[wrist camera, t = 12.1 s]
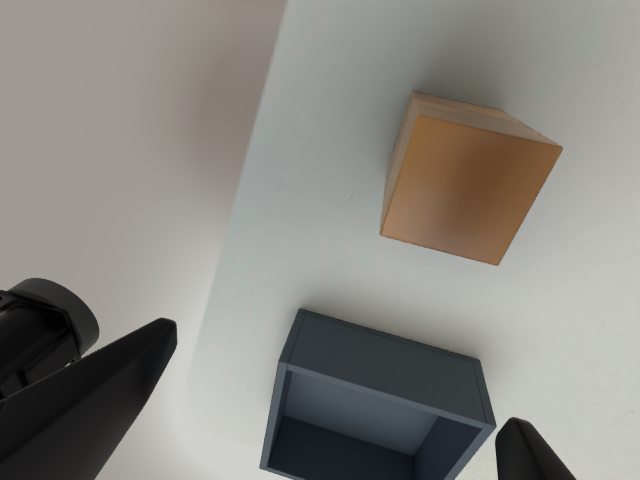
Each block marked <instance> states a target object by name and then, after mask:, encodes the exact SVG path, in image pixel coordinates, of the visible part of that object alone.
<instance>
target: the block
mask: <svg viewBox="0 0 640 480" xmlns="http://www.w3.org/2000/svg"><path fill="white" fill-rule="evenodd" d="M562 150H563V147H562V146H560V145H558V144H557V143H555V142H553V141H552V140H550V139H548V138H547V137H545V136H543V135H542V134H540V133H538V132H537V131H535V130H533V129H532V128H530V127H528V126H527V125H525V124H523V123H521V122H520V121H518V120H516V119H515V118H513V117H511V116H510V115H508V114H506V113H505V112H503V111H499V110H495V109H490V108H486V107H481V106H477V105H472V104H468V103H463V102H459V101H454V100H450V99H445V98H441V97H436V96H432V95H427V94H423V93H418V92H414V91H413V92H411V93H410V97H409V100H408V103H407V107H406V110H405V113H404V117H403V120H402V124H401V127H400V130H399V134H398V137H397V140H396V144H395V147H394V150H393V154H392V157H391V161H390V164H389V167H388V171H387V174H386V180H385V189H384V198H383V207H382V216H381V226H380V235H381V236H384V237H388V238H392V239H395V240H399V241H403V242H407V243H411V244H415V245H418V246H422V247H426V248H430V249H434V250H438V251H442V252H445V253H449V254H453V255H457V256H461V257H465V258H468V259H472V260H476V261H480V262H484V263H488V264H492V265H495V266H498V265H499V263H500V261H501V260H502V258H503V256H504V254H505V252H506V251H507V249H508V247H509V245H510V243H511V242H512V240H513V238H514V236H515V234H516V233H517V231H518V229H519V227H520V226H521V224H522V222H523V220H524V218H525V217H526V215H527V213H528V211H529V209H530V208H531V206H532V204H533V202H534V200H535V199H536V197H537V195H538V193H539V191H540V190H541V188H542V186H543V184H544V182H545V181H546V179H547V177H548V175H549V173H550V172H551V170H552V168H553V166H554V164H555V163H556V161H557V159H558V157H559V155H560V154H561V152H562Z"/></svg>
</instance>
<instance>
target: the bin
mask: <svg viewBox="0 0 640 480" xmlns="http://www.w3.org/2000/svg"><path fill="white" fill-rule="evenodd" d="M496 427H497V426H496V422H495V418H494V414H493V410H492V406H491V402H490V398H489V394H488V391H487V387H486V383H485V379H484V375H483V371H482V367H481V363H480V360H476V359H473V358H469V357H466V356H462V355H459V354H455V353H452V352H449V351H445V350H442V349H438V348H435V347H431V346H428V345H424V344H421V343H417V342H414V341H410V340H407V339H403V338H400V337H396V336H393V335H389V334H386V333H382V332H379V331H375V330H372V329H368V328H365V327H361V326H358V325H354V324H351V323H347V322H344V321H340V320H337V319H333V318H330V317H326V316H323V315H319V314H316V313H312V312H309V311H305V310H302V309H299V310H298V312H297V315H296V317H295V320H294V323H293V325H292V328H291V330H290V333H289V335H288V338H287V340H286V343H285V346H284V348H283V351H282V353H281V356H280V358H279V361H278V367H277V372H276V378H275V384H274V389H273V395H272V400H271V406H270V411H269V417H268V422H267V428H266V434H265V439H264V445H263V451H262V456H261V461H260V469H263V470H267V471H269V472H272V473H275V474H278V475H281V476H284V477H287V478H290V479H293V480H454V479H455V478H456V477H457V476H458V474H459V473H460V472H461V471H462V469H463V468H464V467H465V466H466V464H467V463H468V462H469V461H470V459H471V458H472V457H473V456H474V454H475V453H476V452H477V451H478V449H479V448H480V447H481V446H482V444H483V443H484V442H485V441H486V439H487V438H488V437H489V436H490V434H491V433H492V432H493V431H494V429H495V428H496Z"/></svg>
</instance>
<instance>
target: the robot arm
mask: <svg viewBox="0 0 640 480" xmlns="http://www.w3.org/2000/svg"><path fill="white" fill-rule="evenodd" d="M176 346H177V325H176V322H175V321H173V320H170V319H166V318H159V319H156V320H155V321H153V322H151V323H149V324H147V325H145V326H143V327H141V328H139V329H137V330H135V331H133V332H131V333H129V334H128V335H126V336H124V337H122V338H120V339H118V340H116V341H114V342H112V343H110V344H108V345H106V346H105V347H103V348H101V349H99V350H97V351H95V352H93V353H91V354H89V355H87V356H85V357H83V358H81V355H80V351H79V348H78V344H77V340H76V337H75V333H74V329H73V325H72V322H71V318H70V315H69V313H68V311H66V310H65V309H63V308H59V307H56V306H53V305H50V304H46V303H43V302H40V301H36V300H33V299H30V298H27V297H23V296H20V295H17V294H13V293H10V292H7V291H4V290H0V480H94V479H95V478H96V476H97V475H98V474H99V472H100V471H101V469H102V468H103V466H104V465H105V463H106V462H107V460H108V459H109V457H110V456H111V454H112V453H113V451H114V450H115V449H116V447H117V446H118V444H119V443H120V441H121V440H122V438H123V437H124V435H125V434H126V432H127V431H128V429H129V428H130V426H131V425H132V423H133V422H134V420H135V419H136V417H137V416H138V415H139V413H140V412H141V410H142V409H143V407H144V406H145V404H146V402H147V401H148V399H149V397H150V395H151V394H152V392H153V390H154V388H155V386H156V384H157V382H158V381H159V379H160V377H161V375H162V373H163V372H164V370H165V368H166V366H167V364H168V362H169V360H170V359H171V357H172V355H173V353H174V351H175V349H176ZM68 363H70V365H68V366H66V365H67V364H68ZM65 366H66V367H65ZM495 447H496V460H497V472H498V480H576V478H575V477H574V476H573V475H572V473H571V472H570V471H569V470H568V468H567V467H566V466H565V465H564V463H563V462H562V461H561V460H560V459H559V457H558V456H557V455H556V454H555V452H554V451H553V450H552V449H551V447H550V446H549V445H548V444H547V442H546V441H545V440H544V439H543V437H542V436H541V435H540V434H539V433H538V431H537V430H536V429H535V428H534V426H533V425H532V424H531V423H530V422H528V421H526V420H522V419H519V418H515V417H512V418H510V419H509V420H508V421H507V422H506V423H505V425H504V426H503V427H502V428H501V430H500V431H499V432H498V434H497V436H496V439H495Z"/></svg>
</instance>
